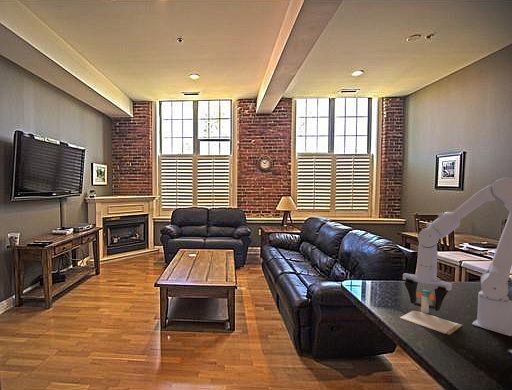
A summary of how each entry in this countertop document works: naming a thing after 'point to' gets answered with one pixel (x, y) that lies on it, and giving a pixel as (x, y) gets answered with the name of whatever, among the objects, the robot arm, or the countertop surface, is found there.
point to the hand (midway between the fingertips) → (425, 306)
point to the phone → (419, 298)
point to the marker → (425, 301)
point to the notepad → (431, 322)
